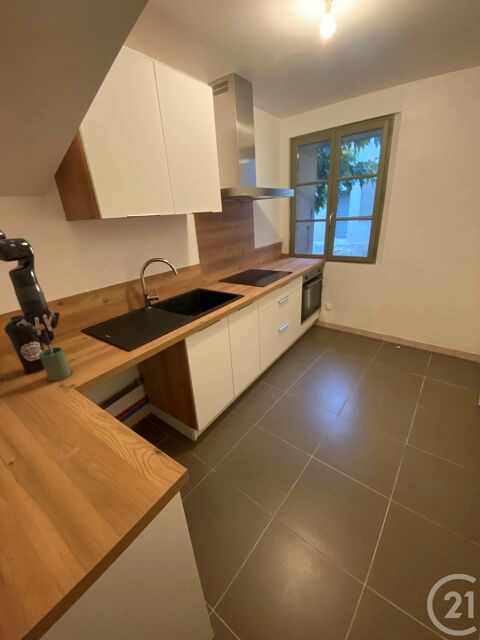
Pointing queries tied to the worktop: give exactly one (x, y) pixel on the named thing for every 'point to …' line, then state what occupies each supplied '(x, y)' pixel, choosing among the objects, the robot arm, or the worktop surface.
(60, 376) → the cup
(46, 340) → the brush
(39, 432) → the worktop surface
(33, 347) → the water bottle
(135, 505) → the worktop surface
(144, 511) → the worktop surface
